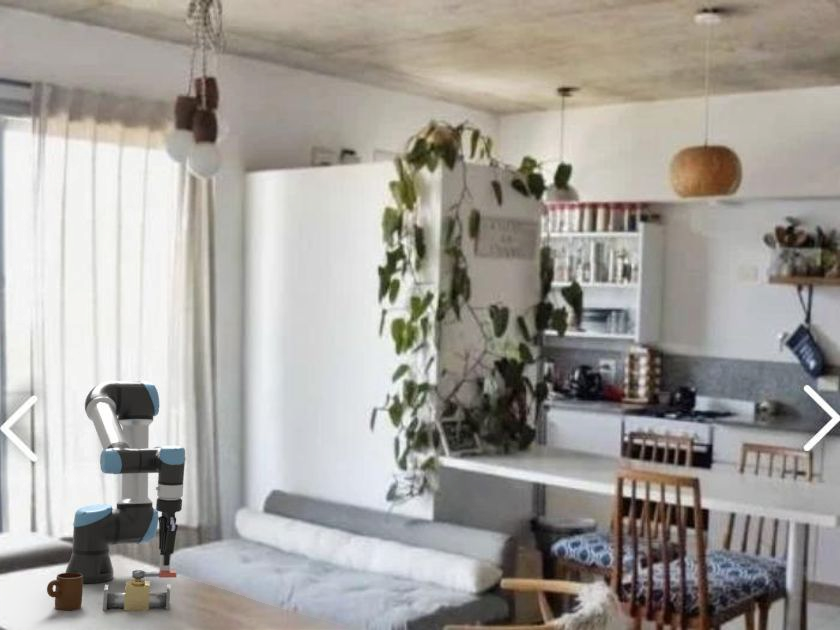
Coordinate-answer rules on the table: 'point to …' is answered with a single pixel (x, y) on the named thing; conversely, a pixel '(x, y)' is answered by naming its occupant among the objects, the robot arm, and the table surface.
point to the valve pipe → (136, 597)
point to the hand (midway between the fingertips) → (164, 575)
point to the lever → (153, 574)
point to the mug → (67, 591)
